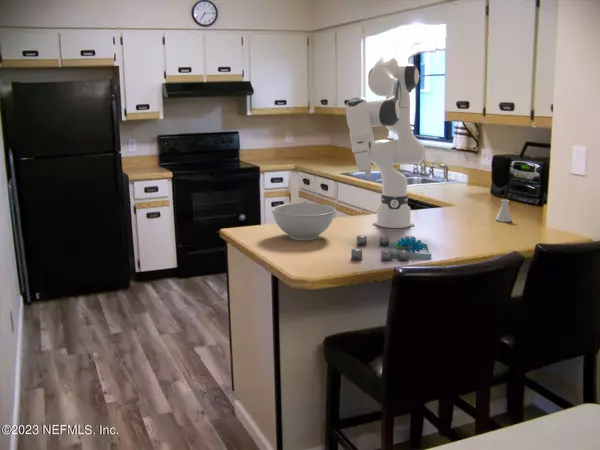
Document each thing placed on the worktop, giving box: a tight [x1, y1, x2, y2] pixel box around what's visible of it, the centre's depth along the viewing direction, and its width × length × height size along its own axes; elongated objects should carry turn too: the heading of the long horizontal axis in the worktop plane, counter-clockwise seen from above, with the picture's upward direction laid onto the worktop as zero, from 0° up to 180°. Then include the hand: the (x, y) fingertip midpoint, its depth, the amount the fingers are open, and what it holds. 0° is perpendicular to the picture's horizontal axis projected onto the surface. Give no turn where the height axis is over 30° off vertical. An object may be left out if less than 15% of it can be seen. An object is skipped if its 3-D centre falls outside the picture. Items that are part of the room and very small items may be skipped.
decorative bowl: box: [271, 202, 337, 241], centre depth 260 cm, size 27×27×12 cm
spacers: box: [350, 234, 416, 263], centre depth 237 cm, size 26×24×4 cm
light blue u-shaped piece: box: [389, 241, 432, 260], centre depth 236 cm, size 16×15×2 cm
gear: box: [394, 236, 424, 253], centre depth 233 cm, size 11×6×10 cm
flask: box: [494, 199, 513, 223], centre depth 292 cm, size 7×7×10 cm
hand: (368, 175), depth 238 cm, fingers closed
